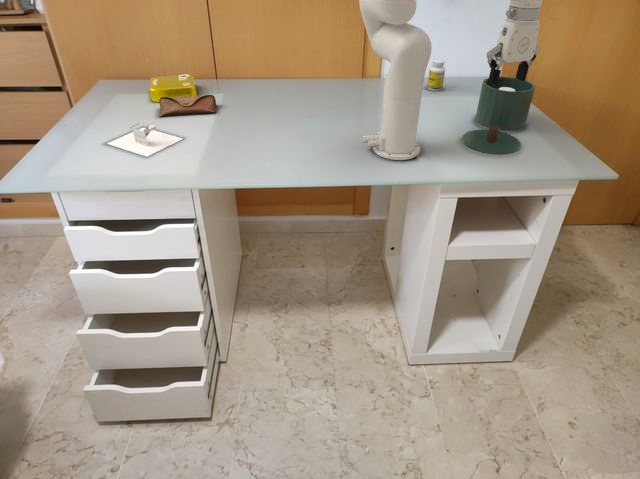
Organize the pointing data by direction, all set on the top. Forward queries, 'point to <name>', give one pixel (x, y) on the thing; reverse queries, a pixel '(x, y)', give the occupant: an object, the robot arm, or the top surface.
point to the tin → (505, 104)
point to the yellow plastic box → (172, 86)
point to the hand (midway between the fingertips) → (506, 81)
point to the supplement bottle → (436, 75)
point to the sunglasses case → (187, 105)
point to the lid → (491, 141)
